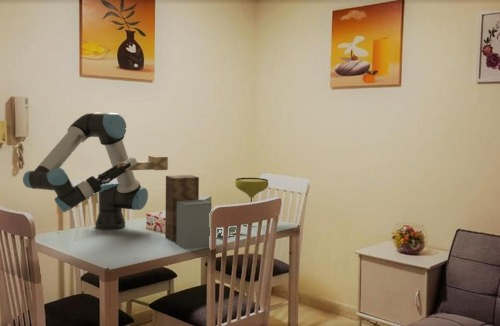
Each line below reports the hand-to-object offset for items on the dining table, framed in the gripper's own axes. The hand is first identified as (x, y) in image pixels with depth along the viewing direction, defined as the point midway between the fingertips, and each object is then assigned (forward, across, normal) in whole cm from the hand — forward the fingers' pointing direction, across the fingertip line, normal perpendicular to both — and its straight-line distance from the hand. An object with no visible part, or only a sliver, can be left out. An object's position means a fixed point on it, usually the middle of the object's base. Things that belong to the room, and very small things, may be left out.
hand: (134, 160), depth 250 cm
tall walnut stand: (+1, 0, -45) cm, 45 cm away
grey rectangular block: (+1, +15, -45) cm, 48 cm away
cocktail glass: (+41, -14, -69) cm, 81 cm away
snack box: (+18, -22, -55) cm, 62 cm away
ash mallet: (+1, 0, -6) cm, 6 cm away
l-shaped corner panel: (+21, +4, -58) cm, 61 cm away
